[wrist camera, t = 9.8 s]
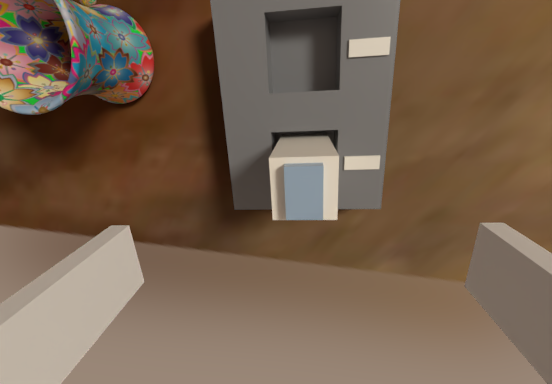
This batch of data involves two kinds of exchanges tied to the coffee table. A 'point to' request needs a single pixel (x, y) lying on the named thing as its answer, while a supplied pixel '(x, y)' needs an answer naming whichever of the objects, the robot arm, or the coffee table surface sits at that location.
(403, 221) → the coffee table surface
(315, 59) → the panel
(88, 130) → the coffee table surface
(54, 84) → the mug
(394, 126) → the coffee table surface
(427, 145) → the coffee table surface
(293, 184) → the plug
